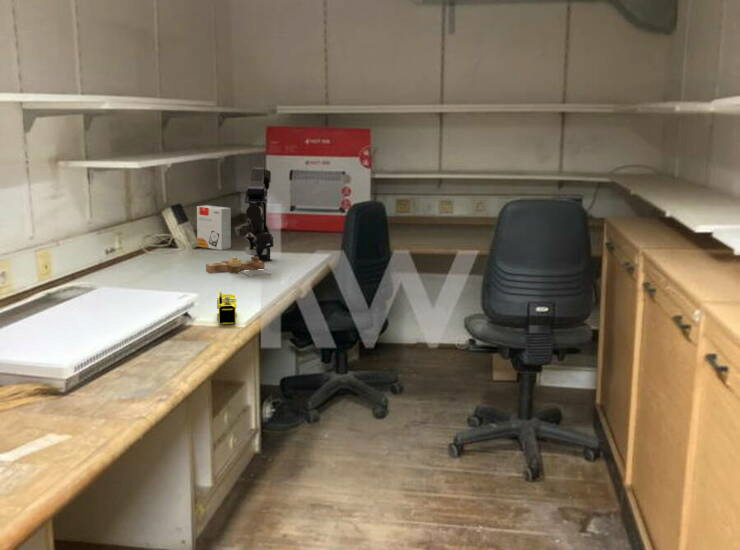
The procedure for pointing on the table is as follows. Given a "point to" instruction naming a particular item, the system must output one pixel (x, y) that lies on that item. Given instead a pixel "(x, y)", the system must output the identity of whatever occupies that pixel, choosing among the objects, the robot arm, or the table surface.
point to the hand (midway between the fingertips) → (256, 255)
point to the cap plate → (254, 250)
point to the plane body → (225, 267)
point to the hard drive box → (214, 227)
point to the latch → (234, 262)
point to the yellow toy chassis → (226, 308)
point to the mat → (256, 272)
